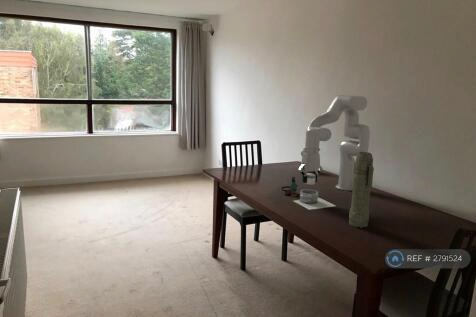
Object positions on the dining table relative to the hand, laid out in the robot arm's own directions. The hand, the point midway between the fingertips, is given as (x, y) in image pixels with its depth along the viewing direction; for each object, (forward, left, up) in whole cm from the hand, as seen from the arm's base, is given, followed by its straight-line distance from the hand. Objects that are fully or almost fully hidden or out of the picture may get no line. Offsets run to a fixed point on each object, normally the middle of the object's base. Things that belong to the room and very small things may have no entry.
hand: (309, 182), depth 201 cm
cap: (0, 0, -1) cm, 1 cm away
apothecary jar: (-43, -64, -12) cm, 78 cm away
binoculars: (+3, -16, -12) cm, 20 cm away
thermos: (-3, +37, -12) cm, 39 cm away
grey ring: (0, 0, -11) cm, 11 cm away
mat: (-1, +4, -12) cm, 13 cm away
